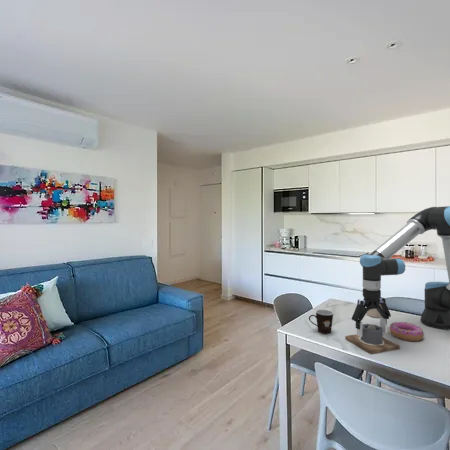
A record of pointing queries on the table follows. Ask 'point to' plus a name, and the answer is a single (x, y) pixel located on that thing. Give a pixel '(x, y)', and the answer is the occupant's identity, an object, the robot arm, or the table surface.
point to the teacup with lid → (374, 313)
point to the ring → (372, 334)
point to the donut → (406, 331)
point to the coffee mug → (323, 321)
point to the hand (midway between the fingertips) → (371, 333)
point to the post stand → (372, 348)
